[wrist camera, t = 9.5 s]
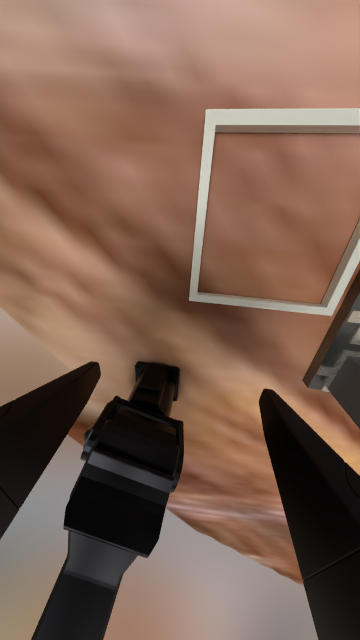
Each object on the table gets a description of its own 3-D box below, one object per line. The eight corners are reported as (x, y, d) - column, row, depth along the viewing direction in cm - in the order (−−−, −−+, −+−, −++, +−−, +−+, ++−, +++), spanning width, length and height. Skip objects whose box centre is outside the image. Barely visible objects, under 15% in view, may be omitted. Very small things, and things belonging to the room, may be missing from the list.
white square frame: (325, 312, 18) (331, 315, 17) (189, 297, 20) (188, 300, 19) (419, 117, 12) (436, 107, 11) (206, 117, 13) (206, 109, 12)
